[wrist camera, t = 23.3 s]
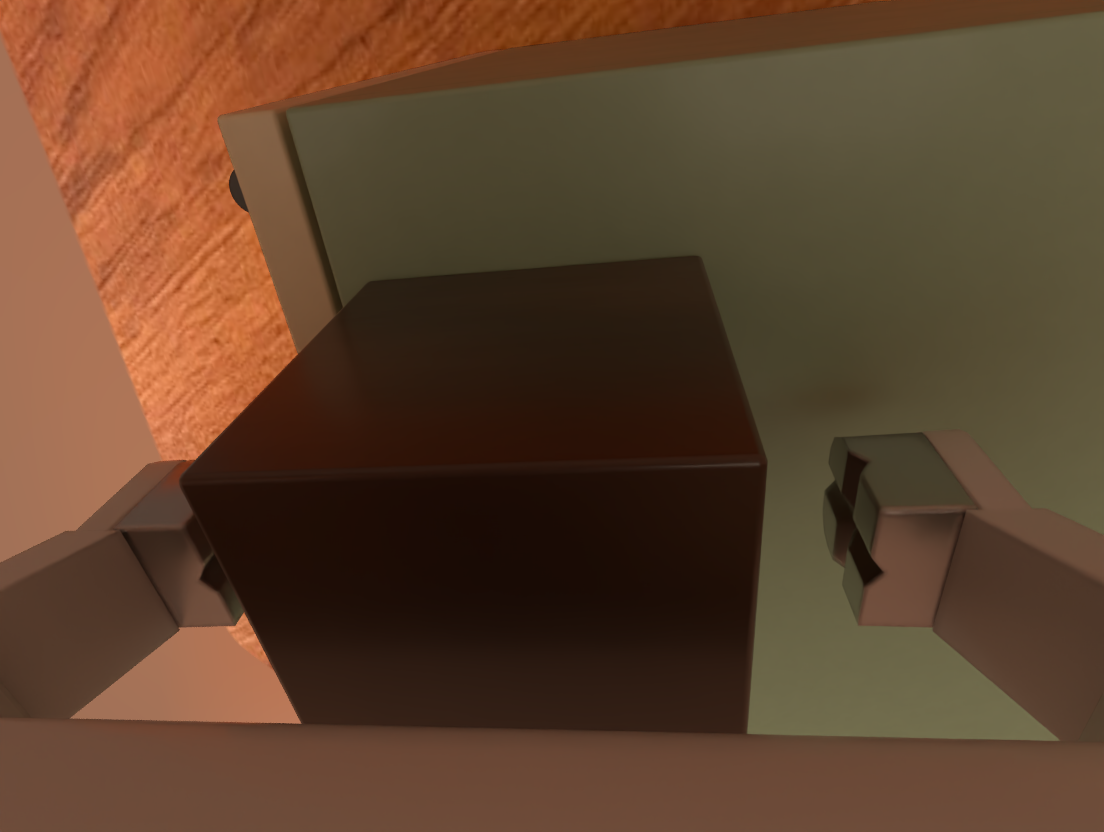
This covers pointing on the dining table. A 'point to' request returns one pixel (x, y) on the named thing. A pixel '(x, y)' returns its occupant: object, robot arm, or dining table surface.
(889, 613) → the robot arm
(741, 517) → the block
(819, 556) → the cupboard
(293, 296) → the cupboard door
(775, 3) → the dining table surface
